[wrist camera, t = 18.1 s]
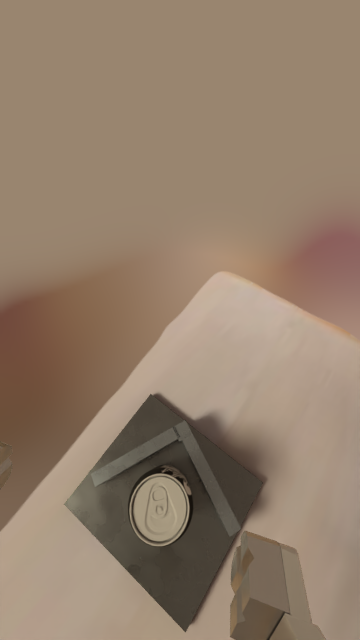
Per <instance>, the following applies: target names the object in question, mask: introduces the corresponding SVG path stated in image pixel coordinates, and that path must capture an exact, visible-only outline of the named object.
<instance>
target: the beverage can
mask: <svg viewBox="0 0 360 640" xmlns="http://www.w3.org/2000/svg"><path fill="white" fill-rule="evenodd" d="M192 515H193V498H192V494H191V490H190V488H189V485H188V482H187V479H186V478H185V476H184V474H183V473H182V472H181V471H180V470H179V469H177V468H176V467H173V466H170V465H160V466H157V467H155V468H153V469H152V470H150V471H148V472H146V473H145V474H143V475H142V476H141V477H140V478H139V479H138V480H137V482H136V483H135V485H134V486H133V488H132V490H131V493H130V496H129V501H128V517H129V522H130V525H131V527H132V529H133V531H134V533H135V534H136V535H137V537H138V538H139V539H140V540H141V541H143V542H144V543H146V544H148V545H150V546H154V547H166V546H169V545H171V544H173V543H175V542H176V541H178V540H179V539H180V538H181V537H182V536H183V535H184V534H185V532H186V530H187V529H188V527H189V525H190V522H191V519H192Z"/></svg>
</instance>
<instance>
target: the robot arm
mask: <svg viewBox="0 0 360 640" xmlns="http://www.w3.org/2000/svg"><path fill="white" fill-rule="evenodd" d="M11 454H12V446H10V445H7V444H5V443H2V442H0V489H1V488H2V487H3V486H4V484H5V483H6V481H7V480H8V478H9V476H10V474H11V470H12V462H11V461H10V459H9V456H10V455H11ZM231 587H232V589H233V591H234V593H235V596H234V598H233V600H232V603H231V605H230V637H231V638H233V639H235V640H326V639H325V637H324V635H323V634H322V632H321V630H320V629H319V627H318V626H317V625H314V624H312V620H311V615H310V610H309V605H308V600H307V595H306V590H305V585H304V580H303V575H302V571H301V566H300V561H299V556H298V553H297V551H296V549H295V548H293V547H290V546H287V545H284V544H281V543H278V542H277V541H274V540H271V539H268V538H266V537H263V536H260V535H257V534H254V533H251V532H248V531H244V532H243V534H242V536H241V546H239V547H237V548H236V551H235V553H234V557H233V562H232V569H231Z"/></svg>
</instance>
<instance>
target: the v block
mask: <svg viewBox="0 0 360 640" xmlns="http://www.w3.org/2000/svg"><path fill="white" fill-rule="evenodd" d="M160 465H170V466H173V467H176V468H177V469H179V470H180V471H181V472H182V473H183V474H184V476H185V478H186V479H187V482H188V485H189V488H190V490H191V494H192V498H193V515H192V519H191V522H190V525H189V527H188V529H187V530H186V532H185V534H184V535H183V536H182V537H181V538H180V539H179V540H178V541H176V542H175V543H173V544H171V545H169V546H166V547H154V546H150V545H148V544H146V543H144V542H143V541H141V540H140V539H139V538H138V537H137V535H136V534H135V533H134V531H133V529H132V527H131V525H130V522H129V517H128V501H129V496H130V493H131V490H132V488H133V486H134V485H135V483H136V482H137V480H138V479H139V478H140V477H141V476H142V475H143V474H145V473H146V472H148V471H150V470H152V469H153V468H155V467H157V466H160ZM262 484H263V483H262V482H261V481H260V480H259V479H257V478H256V477H255V476H254V475H252V474H251V473H250V472H249V471H247V470H246V469H245V468H244V467H242V466H241V465H240V464H238V463H237V462H236V461H235V460H233V459H232V458H231V457H230V456H228V455H227V454H226V453H225V452H223V451H222V450H221V449H220V448H218V447H217V446H216V445H215V444H213V443H212V442H211V441H209V440H208V439H207V438H206V437H204V436H203V435H202V434H201V433H199V432H198V431H197V430H196V429H194V428H193V427H192V426H191V425H189V424H188V423H187V422H186V420H183V419H182V418H180V417H179V416H178V415H177V414H175V413H174V412H173V411H172V410H170V409H169V408H168V407H167V406H165V405H164V404H163V403H162V402H160V401H159V400H158V399H156V398H155V397H154V396H153V395H151V394H150V396H149V397H148V398H147V400H146V401H145V402H144V403H143V405H142V406H141V407H140V408H139V410H138V411H137V412H136V414H135V415H134V416H133V417H132V419H131V420H130V421H129V422H128V424H127V425H126V426H125V428H124V429H123V430H122V431H121V433H120V434H119V435H118V436H117V438H116V439H115V440H114V442H113V443H112V444H111V445H110V447H109V448H108V449H107V450H106V452H105V453H104V454H103V456H102V457H101V458H100V459H99V461H98V462H97V463H96V464H95V466H94V467H93V468H92V470H91V471H90V472H89V473H88V475H87V476H86V477H85V479H84V480H83V481H82V482H81V484H80V485H79V486H78V487H77V489H76V490H75V491H74V493H73V494H72V495H71V496H70V498H69V499H68V500H67V501H66V503H65V504H64V505H65V506H66V507H67V508H68V509H69V510H70V511H71V512H72V513H73V514H74V515H75V516H76V517H77V518H78V519H79V520H80V521H81V522H82V524H83V525H84V526H85V527H86V528H87V529H88V530H89V531H90V532H91V533H92V534H93V535H94V536H95V537H96V538H97V539H98V540H99V541H100V543H101V544H102V545H103V546H104V547H105V548H106V549H107V550H108V551H109V552H110V553H111V554H112V555H113V556H114V557H115V558H116V559H117V560H118V562H119V563H120V564H121V565H122V566H123V567H124V568H125V569H126V570H127V571H128V572H129V573H130V574H131V575H132V576H133V577H134V578H135V579H136V581H137V582H138V583H139V584H140V585H141V586H142V587H143V588H144V589H145V590H146V591H147V592H148V593H149V594H150V595H151V596H152V597H153V598H154V600H155V601H156V602H157V603H158V604H159V605H160V606H161V607H162V608H163V609H164V610H165V611H166V612H167V613H168V614H169V615H170V616H171V617H172V618H173V620H174V621H175V622H176V623H177V624H178V625H179V626H180V627H181V628H182V629H183V630H184V631H185V632H186V630H187V628H188V627H189V625H190V623H191V621H192V619H193V617H194V615H195V613H196V611H197V609H198V607H199V605H200V603H201V601H202V599H203V598H204V596H205V594H206V592H207V590H208V588H209V586H210V584H211V582H212V580H213V578H214V576H215V574H216V572H217V570H218V569H219V567H220V565H221V563H222V561H223V559H224V557H225V555H226V553H227V551H228V549H229V547H230V545H231V543H232V542H233V540H234V538H235V536H236V534H237V532H238V531H239V530H240V529H241V527H240V526H241V524H242V522H243V520H244V518H245V516H246V514H247V513H248V511H249V509H250V507H251V505H252V503H253V501H254V499H255V497H256V495H257V493H258V491H259V489H260V487H261V486H262Z"/></svg>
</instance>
